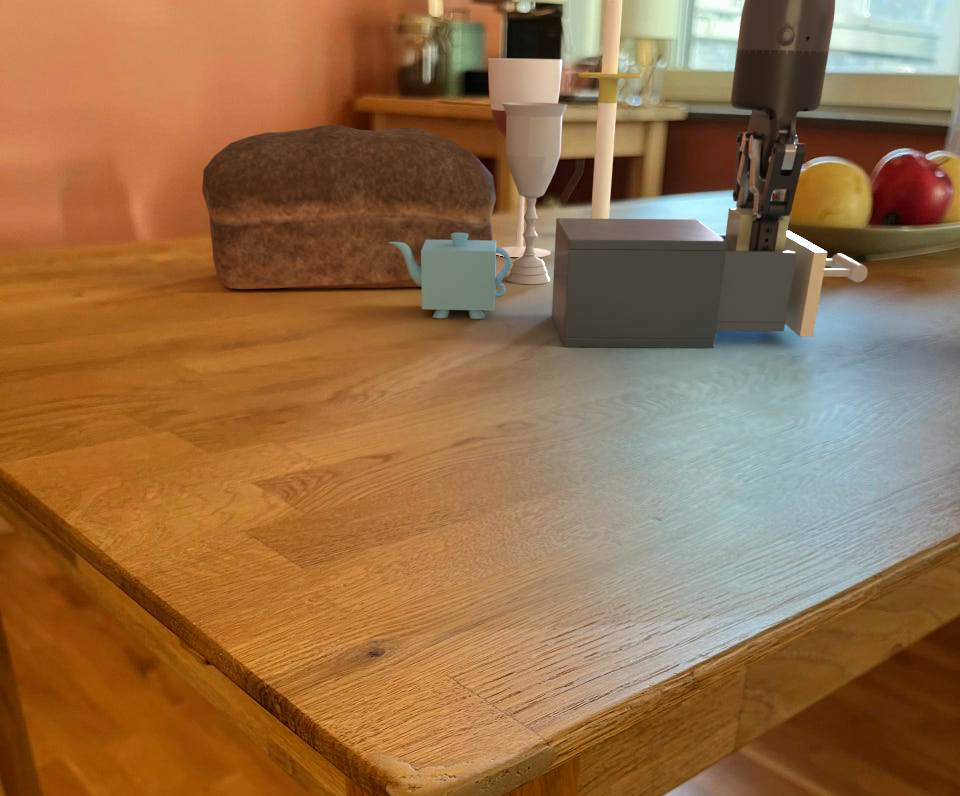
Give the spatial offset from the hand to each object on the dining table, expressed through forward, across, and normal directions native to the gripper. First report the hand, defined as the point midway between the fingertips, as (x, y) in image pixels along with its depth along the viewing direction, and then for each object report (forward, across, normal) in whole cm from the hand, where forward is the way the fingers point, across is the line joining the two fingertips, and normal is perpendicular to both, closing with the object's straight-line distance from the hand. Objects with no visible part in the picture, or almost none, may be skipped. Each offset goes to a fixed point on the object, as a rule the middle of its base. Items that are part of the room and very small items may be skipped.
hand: (752, 259), depth 94 cm
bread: (+7, +24, +39) cm, 46 cm away
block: (0, 0, 0) cm, 0 cm away
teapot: (+7, +7, +28) cm, 30 cm away
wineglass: (+7, +42, +19) cm, 47 cm away
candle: (+7, +55, +7) cm, 56 cm away
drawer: (+6, 0, -1) cm, 6 cm away
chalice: (+7, +24, +19) cm, 31 cm away
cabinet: (+7, 0, +11) cm, 13 cm away
